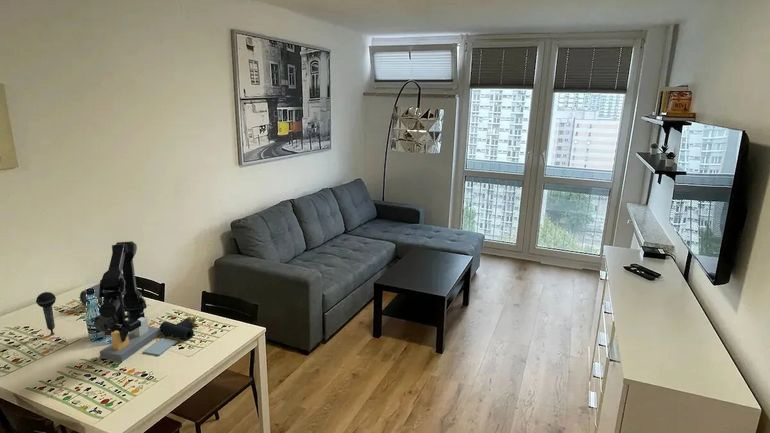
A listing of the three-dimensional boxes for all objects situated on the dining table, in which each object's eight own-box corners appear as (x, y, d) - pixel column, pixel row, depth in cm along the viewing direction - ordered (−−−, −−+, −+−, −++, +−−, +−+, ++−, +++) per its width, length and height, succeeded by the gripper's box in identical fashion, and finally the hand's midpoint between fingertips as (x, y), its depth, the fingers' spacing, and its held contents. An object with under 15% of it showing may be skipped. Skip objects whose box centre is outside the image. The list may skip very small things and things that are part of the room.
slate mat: (142, 352, 180) (142, 351, 180) (161, 339, 190) (161, 338, 190) (159, 355, 178) (159, 354, 178) (177, 341, 188) (177, 340, 188)
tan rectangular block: (113, 353, 177) (110, 333, 175) (124, 346, 182) (121, 327, 180) (119, 354, 177) (116, 334, 174) (129, 348, 181) (127, 328, 179)
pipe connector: (180, 312, 203) (204, 319, 197) (181, 323, 205) (205, 330, 199) (158, 324, 193) (183, 332, 187) (160, 334, 195) (185, 342, 189)
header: (100, 358, 175) (99, 351, 175) (141, 331, 196) (141, 325, 195) (121, 361, 173) (120, 355, 173) (161, 334, 194) (160, 328, 193)
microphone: (39, 336, 190) (31, 293, 184) (57, 329, 195) (49, 288, 190) (48, 340, 186) (39, 297, 181) (65, 333, 192) (58, 291, 187)
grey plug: (134, 341, 188) (132, 322, 186) (143, 335, 193) (141, 317, 190) (140, 342, 187) (138, 323, 185) (149, 336, 192) (147, 318, 190)
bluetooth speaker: (122, 289, 237) (119, 272, 234) (134, 292, 234) (132, 275, 231) (80, 307, 216) (77, 288, 214) (93, 310, 213) (90, 291, 211)
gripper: (78, 310, 170) (84, 346, 174) (114, 319, 164) (120, 356, 168) (105, 298, 180) (110, 332, 184) (140, 306, 174) (144, 341, 178)
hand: (120, 340), depth 178 cm, fingers closed on tan rectangular block, 3 cm apart
